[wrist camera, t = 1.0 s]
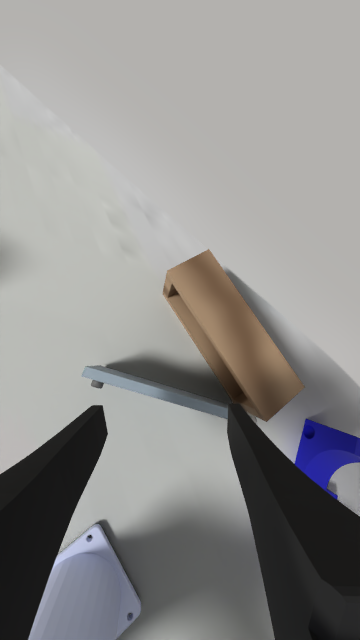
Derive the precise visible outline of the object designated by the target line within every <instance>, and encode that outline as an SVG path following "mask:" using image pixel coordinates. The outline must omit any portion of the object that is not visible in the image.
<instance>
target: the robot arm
mask: <svg viewBox="0 0 360 640" xmlns="http://www.w3.org/2000/svg"><path fill="white" fill-rule="evenodd" d="M227 434H228V439H229V445H230V450H231V454H232V458H233V461H234V465H235V468H236V471H237V475H238V478H239V482H240V485H241V488H242V492H243V495H244V498H245V502H246V505H247V509H248V513H249V517H250V521H251V526H252V530H253V535H254V539H255V544H256V548H257V553H258V558H259V562H260V567H261V572H262V577H263V581H264V586H265V591H266V596H267V601H268V606H269V611H270V616H271V621H272V626H273V631H274V636H275V640H360V517H359V516H358V515H357V514H355V513H354V512H352V511H351V510H350V509H348V508H347V507H346V506H344V505H343V504H342V503H340V502H339V501H338V500H337V499H335V498H334V497H333V496H331V495H330V494H329V493H328V492H327V491H325V490H324V489H323V488H322V487H320V486H319V485H318V484H317V483H315V482H314V481H313V480H312V479H311V478H309V477H308V476H307V475H306V474H305V473H304V472H302V471H301V470H300V469H299V468H298V467H297V466H296V465H295V464H294V463H293V462H292V461H291V460H289V459H288V458H287V457H286V456H285V455H284V454H283V453H282V452H281V451H280V450H279V449H278V448H277V447H276V446H275V444H274V443H273V442H272V441H271V440H270V439H269V438H268V437H267V436H266V435H265V434H264V433H263V431H262V430H261V429H260V428H259V427H258V426H257V425H256V423H255V422H254V421H253V420H252V419H251V417H250V416H249V415H248V414H247V412H246V411H245V410H244V408H243V407H242V406H241V405H240V404H239V403H231V404H228V425H227ZM107 435H108V432H107V427H106V422H105V416H104V411H103V405H93V406H91V407H90V408H88V409H87V410H86V411H85V412H83V413H82V414H81V415H80V416H79V417H77V418H76V419H75V420H74V421H72V422H71V423H70V424H69V425H68V426H66V427H65V428H64V429H63V430H61V431H60V432H59V433H58V434H56V435H55V436H54V437H53V438H51V439H50V440H49V441H47V442H46V443H45V444H43V445H42V446H41V447H39V448H38V449H37V450H35V451H34V452H33V453H31V454H30V455H28V456H27V457H26V458H24V459H23V460H21V461H20V462H18V463H17V464H15V465H14V466H12V467H11V468H9V469H8V470H6V471H5V472H3V473H2V474H0V640H116V639H117V638H118V637H119V636H120V635H121V634H122V633H123V632H124V631H125V630H126V629H127V627H128V626H129V625H130V624H131V623H132V622H133V621H134V620H135V619H136V618H137V617H138V616H139V615H140V612H141V601H140V599H139V597H138V596H137V594H136V592H135V590H134V588H133V586H132V584H131V582H130V580H129V579H128V577H127V575H126V573H125V571H124V569H123V567H122V565H121V563H120V561H119V560H118V558H117V556H116V554H115V552H114V550H113V548H112V546H111V544H110V542H109V541H108V539H107V537H106V535H105V533H104V531H103V529H102V527H101V526H100V525H99V524H95V525H93V526H92V527H91V528H89V529H88V530H87V531H86V532H85V533H83V534H82V535H81V536H80V537H79V538H77V539H76V540H75V541H74V542H73V543H71V544H70V545H69V546H68V547H67V548H65V549H64V550H63V551H62V552H61V553H59V554H58V552H59V549H60V546H61V543H62V541H63V538H64V536H65V533H66V531H67V528H68V525H69V523H70V520H71V518H72V515H73V513H74V510H75V508H76V506H77V504H78V501H79V499H80V497H81V495H82V493H83V491H84V489H85V487H86V485H87V482H88V480H89V478H90V476H91V474H92V472H93V470H94V468H95V466H96V463H97V461H98V459H99V457H100V455H101V452H102V449H103V447H104V444H105V441H106V438H107ZM88 535H92V538H89V537H88ZM57 554H58V555H57ZM128 613H132V614H131V615H129V614H128Z"/></svg>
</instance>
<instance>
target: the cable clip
mask: <svg viewBox="0 0 360 640" xmlns="http://www.w3.org/2000/svg"><path fill="white" fill-rule="evenodd" d="M357 462H360V438H358V437H355V436H353V435H350V434H347V433H344V432H341V431H339V430H336V429H333V428H330V427H327V426H325V425H322V424H319V423H316V422H314V421H311V420H308V419H306V420H305V424H304V428H303V432H302V436H301V440H300V444H299V448H298V452H297V457H296V461H295V465H296V466H297V467H298V468H299V469H300V470H301V471H302V472H304V473H305V474H306V475H307V476H308V477H309V478H311V479H312V480H313V481H314V482H315V483H317V484H318V485H319V486H320V487H322V488H323V489H324V490H325V491H327V492H328V493H329V494H330V495H331V496H333V497H334V498H335V499H337V497H338V496H337V495H336V494H334V493H333V492H331V491H330V490H328V489H327V485H328V482H329V480H330V478H331V476H332V475H333V473H334V472H335V471H336V470H337V469H339V468H340V467H341V466H344V465H346V464H349V463H357Z"/></svg>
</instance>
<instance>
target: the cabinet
mask: <svg viewBox="0 0 360 640" xmlns="http://www.w3.org/2000/svg"><path fill="white" fill-rule="evenodd" d="M163 295H164V296H165V298H166V300H167V301H168V303H169V304H170V306H171V307H172V309H173V310H174V312H175V313H176V315H177V317H178V318H179V320H180V321H181V323H182V324H183V326H184V327H185V329H186V331H187V332H188V334H189V335H190V337H191V338H192V340H193V341H194V343H195V344H196V346H197V348H198V349H199V351H200V352H201V354H202V355H203V357H204V358H205V360H206V362H207V363H208V365H209V366H210V368H211V369H212V371H213V372H214V374H215V375H216V377H217V379H218V380H219V382H220V383H221V385H222V386H223V388H224V389H225V391H226V392H227V394H228V396H229V397H230V399H231V400H232V402H233V403H239V404H240V405H241V406H242V407H243V408H244V410H245V411H246V412H248V413H250V414H252V415H254V416H256V417H258V418H260V419H262V420H264V421H266V422H267V421H268V420H269V419H270V418H271V417H273V416H274V415H275V414H276V413H277V412H278V411H279V410H280V409H281V408H282V407H284V406H285V405H286V404H287V403H288V402H289V401H290V400H291V399H292V398H293V397H295V396H296V395H297V394H298V393H299V392H300V391H301V390H302V389H303V388H304V385H303V384H302V382H301V381H300V379H299V378H298V377H297V375H296V374H295V372H294V371H293V369H292V368H291V367H290V365H289V364H288V362H287V361H286V359H285V358H284V356H283V355H282V354H281V352H280V351H279V349H278V348H277V346H276V345H275V344H274V342H273V341H272V339H271V338H270V336H269V335H268V333H267V332H266V331H265V329H264V328H263V326H262V325H261V323H260V322H259V321H258V319H257V318H256V316H255V315H254V313H253V312H252V310H251V309H250V308H249V306H248V305H247V303H246V302H245V300H244V299H243V298H242V296H241V295H240V293H239V292H238V290H237V289H236V287H235V286H234V285H233V283H232V282H231V280H230V279H229V277H228V276H227V274H226V273H225V272H224V270H223V269H222V267H221V266H220V264H219V263H218V262H217V260H216V259H215V257H214V256H213V254H212V253H211V251H210V250H209V249H208V250H207V251H205V252H203V253H201V254H199V255H197V256H195V257H193V258H191V259H189V260H187V261H185V262H183V263H181V264H179V265H177V266H176V267H174V268H172V269H170V270H168V271H167V274H166V279H165V284H164V289H163Z"/></svg>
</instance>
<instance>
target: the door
mask: <svg viewBox="0 0 360 640" xmlns="http://www.w3.org/2000/svg"><path fill="white" fill-rule="evenodd" d="M82 377H86V378H89V379H92V380H93V381H92V384H91V386H93V387H96V388H102V387H103V384H104V383H106V384H110V385H113V386H116V387H120V388H123V389H127V390H130V391H133V392H137V393H140V394H144V395H147V396H151V397H154V398H157V399H161V400H164V401H168V402H171V403H174V404H178V405H181V406H185V407H188V408H192V409H195V410H198V411H202V412H205V413H209V414H212V415H216V416H219V417H222V418H226V419H228V404H230V403H228V404H227V403H223V402H220V401H217V400H213V399H210V398H207V397H203V396H200V395H197V394H193V393H190V392H187V391H183V390H180V389H177V388H173V387H170V386H167V385H163V384H160V383H157V382H153V381H150V380H147V379H143V378H140V377H137V376H133V375H130V374H127V373H123V372H120V371H117V370H113V369H110V368H107V367H103V366H85V369H84V371H83V373H82ZM247 414H248V415H249V416H250V417H251V419H252V420H253V421H254V422H255V423H256V422H257V420H256V417H255V416H254V415H252V414H250V413H248V412H247Z"/></svg>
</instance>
